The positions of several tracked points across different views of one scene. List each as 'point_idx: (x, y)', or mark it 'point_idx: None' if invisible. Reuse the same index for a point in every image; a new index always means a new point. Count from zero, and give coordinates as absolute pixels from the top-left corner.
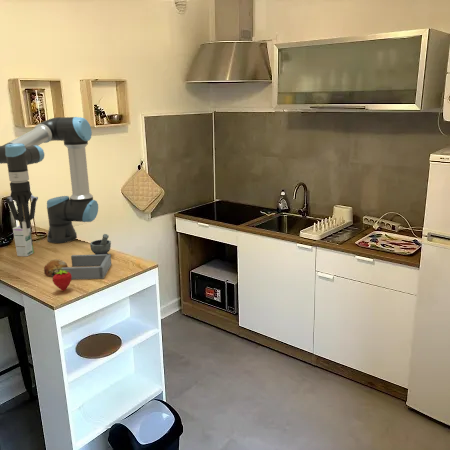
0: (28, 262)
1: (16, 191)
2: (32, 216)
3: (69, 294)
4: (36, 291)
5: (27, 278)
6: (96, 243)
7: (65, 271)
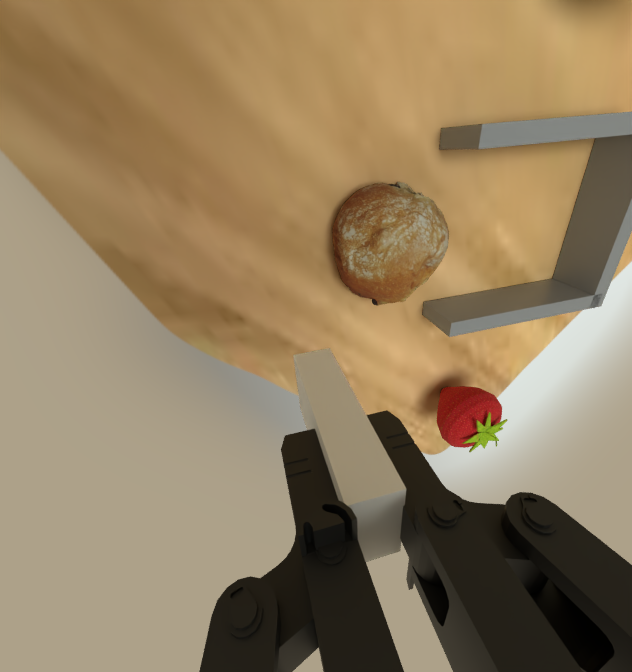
0: (122, 44)
1: None
2: (571, 602)
3: None
4: (362, 407)
5: (276, 316)
6: None
7: (497, 428)
